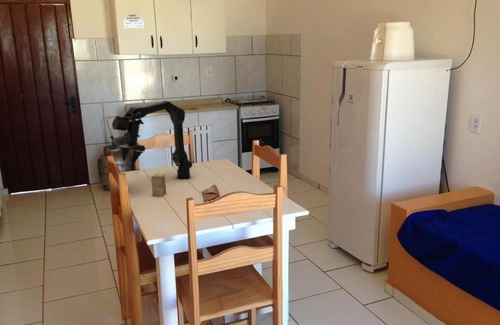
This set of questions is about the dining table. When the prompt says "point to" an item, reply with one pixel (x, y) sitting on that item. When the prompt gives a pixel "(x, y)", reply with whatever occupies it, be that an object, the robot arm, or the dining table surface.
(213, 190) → the sunglasses case
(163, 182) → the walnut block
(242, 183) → the dining table surface
